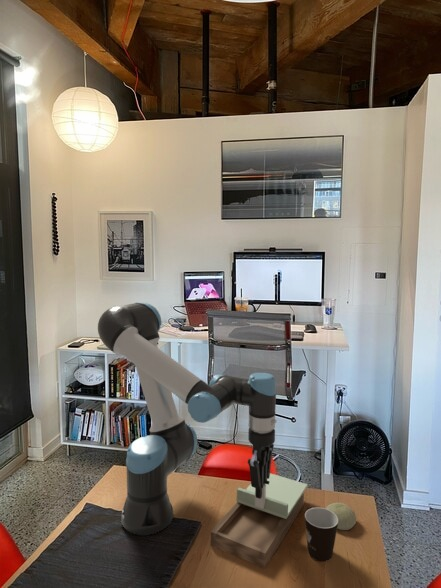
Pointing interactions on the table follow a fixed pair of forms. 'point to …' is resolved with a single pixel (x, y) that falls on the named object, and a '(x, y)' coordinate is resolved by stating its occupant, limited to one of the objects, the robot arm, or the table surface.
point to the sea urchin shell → (343, 515)
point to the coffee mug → (320, 532)
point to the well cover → (275, 495)
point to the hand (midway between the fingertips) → (260, 505)
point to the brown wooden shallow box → (252, 532)
